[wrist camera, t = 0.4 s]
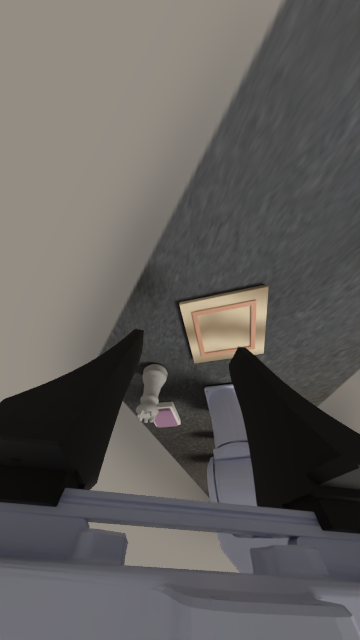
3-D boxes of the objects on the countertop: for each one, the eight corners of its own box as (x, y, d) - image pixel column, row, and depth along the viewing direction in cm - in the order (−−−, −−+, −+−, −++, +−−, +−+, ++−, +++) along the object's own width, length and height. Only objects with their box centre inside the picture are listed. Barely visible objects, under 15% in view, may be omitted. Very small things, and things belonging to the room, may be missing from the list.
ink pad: (180, 419, 35) (180, 426, 34) (157, 421, 36) (156, 428, 35) (172, 401, 32) (171, 408, 30) (146, 404, 32) (144, 411, 31)
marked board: (261, 349, 23) (264, 354, 23) (194, 359, 25) (194, 364, 24) (265, 284, 18) (269, 287, 17) (179, 302, 20) (179, 305, 19)
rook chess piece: (171, 366, 26) (165, 413, 19) (164, 381, 28) (157, 428, 21) (146, 359, 25) (132, 406, 18) (141, 375, 28) (127, 422, 21)
